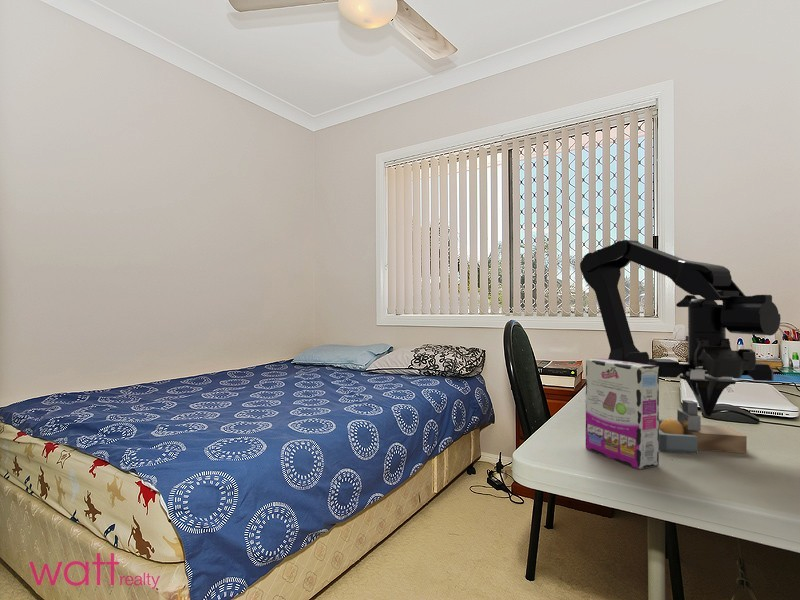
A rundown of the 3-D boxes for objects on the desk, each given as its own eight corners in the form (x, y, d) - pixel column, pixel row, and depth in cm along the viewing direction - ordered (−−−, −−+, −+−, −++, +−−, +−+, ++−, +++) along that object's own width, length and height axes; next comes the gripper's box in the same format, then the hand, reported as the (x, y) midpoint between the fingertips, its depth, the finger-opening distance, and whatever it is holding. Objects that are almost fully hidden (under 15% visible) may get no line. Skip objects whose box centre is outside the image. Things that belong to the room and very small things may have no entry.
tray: (660, 451, 77) (660, 434, 77) (639, 432, 88) (639, 418, 88) (697, 454, 76) (697, 436, 76) (672, 435, 87) (672, 420, 87)
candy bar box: (660, 466, 70) (661, 365, 70) (639, 470, 68) (639, 367, 68) (603, 445, 81) (604, 357, 81) (583, 448, 79) (584, 358, 79)
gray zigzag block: (688, 430, 79) (688, 404, 79) (677, 422, 84) (677, 398, 84) (700, 430, 79) (700, 405, 79) (688, 423, 83) (689, 399, 83)
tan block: (692, 449, 78) (692, 432, 78) (678, 439, 84) (679, 423, 84) (746, 453, 76) (746, 436, 76) (728, 442, 82) (728, 426, 82)
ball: (688, 423, 79) (687, 445, 79) (679, 417, 83) (678, 438, 83) (664, 421, 80) (663, 442, 80) (656, 415, 84) (655, 435, 84)
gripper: (667, 334, 75) (667, 424, 75) (794, 336, 71) (794, 431, 70) (645, 330, 86) (646, 408, 85) (754, 331, 81) (755, 414, 81)
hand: (706, 415), depth 80 cm, fingers closed
